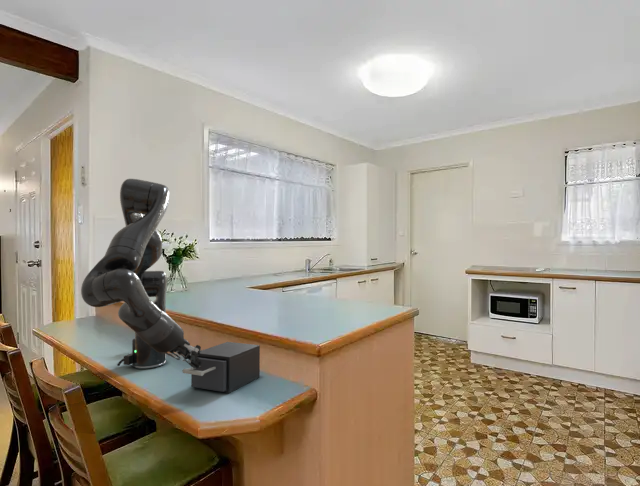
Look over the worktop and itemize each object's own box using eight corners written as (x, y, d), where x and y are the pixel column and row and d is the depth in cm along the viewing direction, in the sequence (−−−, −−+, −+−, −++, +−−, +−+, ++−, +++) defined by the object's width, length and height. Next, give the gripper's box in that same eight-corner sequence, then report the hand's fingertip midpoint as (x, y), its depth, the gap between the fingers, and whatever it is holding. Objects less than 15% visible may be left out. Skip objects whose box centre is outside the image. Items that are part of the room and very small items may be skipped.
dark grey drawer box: (229, 393, 104) (229, 357, 104) (194, 387, 108) (194, 352, 108) (259, 377, 117) (259, 345, 117) (227, 372, 121) (227, 341, 121)
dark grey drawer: (208, 399, 97) (208, 368, 97) (175, 393, 101) (175, 363, 101) (252, 377, 114) (252, 350, 114) (222, 372, 118) (222, 346, 118)
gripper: (188, 319, 90) (224, 355, 101) (148, 315, 94) (187, 350, 106) (170, 346, 85) (209, 380, 96) (129, 341, 89) (171, 374, 101)
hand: (197, 365), depth 101 cm, fingers closed
